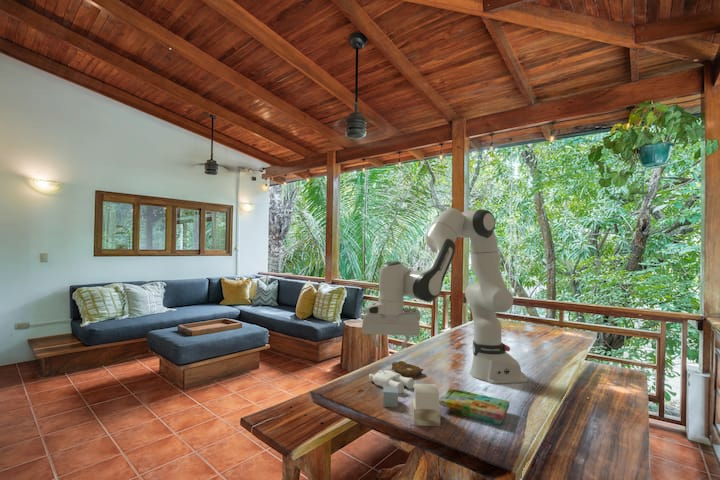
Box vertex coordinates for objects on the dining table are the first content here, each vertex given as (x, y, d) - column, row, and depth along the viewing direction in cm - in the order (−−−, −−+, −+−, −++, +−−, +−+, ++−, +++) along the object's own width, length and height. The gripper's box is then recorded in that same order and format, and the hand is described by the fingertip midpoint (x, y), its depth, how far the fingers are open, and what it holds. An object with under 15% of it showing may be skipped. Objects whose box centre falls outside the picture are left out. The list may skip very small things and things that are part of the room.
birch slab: (436, 414, 114) (436, 398, 114) (440, 426, 106) (440, 410, 106) (411, 413, 115) (412, 397, 115) (413, 425, 107) (413, 409, 107)
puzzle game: (502, 413, 105) (439, 397, 116) (502, 429, 105) (439, 411, 116) (509, 399, 115) (450, 385, 126) (509, 413, 115) (450, 398, 126)
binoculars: (397, 395, 128) (397, 383, 128) (366, 383, 139) (366, 371, 139) (414, 388, 135) (414, 376, 135) (383, 376, 147) (383, 365, 147)
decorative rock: (383, 372, 152) (410, 383, 141) (383, 363, 152) (410, 374, 141) (399, 365, 160) (426, 375, 149) (399, 356, 160) (426, 365, 149)
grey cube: (397, 400, 123) (397, 386, 123) (397, 407, 118) (397, 392, 118) (383, 400, 124) (383, 386, 124) (383, 406, 119) (383, 392, 119)
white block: (435, 399, 113) (435, 384, 113) (438, 409, 106) (438, 393, 106) (414, 398, 114) (414, 383, 114) (415, 408, 107) (415, 392, 107)
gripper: (419, 306, 124) (419, 345, 124) (362, 305, 126) (362, 343, 125) (421, 310, 118) (421, 351, 118) (361, 308, 119) (361, 348, 119)
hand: (390, 347), depth 121 cm, fingers open, 8 cm apart
